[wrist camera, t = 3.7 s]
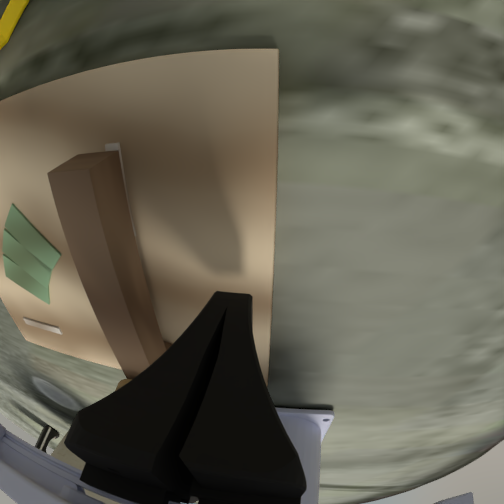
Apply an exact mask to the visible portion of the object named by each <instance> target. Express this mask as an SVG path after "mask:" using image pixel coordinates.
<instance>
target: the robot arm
mask: <svg viewBox="0 0 504 504" xmlns="http://www.w3.org/2000/svg"><path fill="white" fill-rule="evenodd" d="M333 419H334V412H333V411H331V410H309V409H290V408H276V407H275V406H274V404H273V402H272V399H271V397H270V394H269V392H268V389H267V386H266V383H265V380H264V377H263V374H262V371H261V367H260V364H259V360H258V356H257V352H256V347H255V342H254V336H253V297H252V296H251V295H250V294H245V293H233V292H222V291H216V292H215V293H214V294H213V295H212V297H211V298H210V300H209V301H208V302H207V304H206V305H205V306H204V308H203V309H202V310H201V312H200V313H199V314H198V316H197V317H196V318H195V319H194V320H193V322H192V323H191V324H190V325H189V327H188V328H187V329H186V330H185V331H184V332H183V334H182V335H181V336H180V337H179V338H178V339H177V340H176V341H175V342H174V343H173V344H172V345H171V346H170V347H169V348H168V349H167V350H166V351H165V352H164V353H163V354H162V355H161V356H160V357H159V358H158V359H157V360H156V361H155V362H153V363H152V364H151V365H150V366H149V367H148V368H146V369H145V370H144V371H143V372H141V373H140V374H139V375H138V376H136V377H135V378H134V379H132V380H131V381H130V382H128V383H127V384H125V385H124V386H122V387H121V388H119V389H118V390H116V391H114V392H113V393H111V394H110V395H108V396H107V397H105V398H103V399H101V400H99V401H98V402H96V403H94V404H92V405H90V406H88V407H86V408H84V409H82V410H80V411H79V412H78V414H77V415H76V417H75V419H74V420H73V423H72V425H71V427H70V429H69V432H68V434H67V436H66V439H65V441H64V444H65V446H66V447H67V448H68V449H69V450H70V451H71V452H72V453H74V454H75V455H76V456H78V457H79V458H80V459H82V460H83V461H84V462H86V463H85V466H84V469H83V471H82V470H80V469H77V468H75V467H73V466H71V465H69V464H67V463H65V462H63V461H60V460H58V459H56V458H54V457H53V456H51V455H48V454H47V453H45V452H43V451H41V450H39V449H38V448H36V447H34V446H32V445H30V444H29V443H27V442H25V441H24V440H22V439H20V438H19V437H17V436H15V435H13V434H12V433H11V432H9V431H7V430H6V429H5V427H3V426H2V425H1V424H0V489H1V490H2V491H3V492H4V493H6V494H7V495H8V496H9V497H10V498H11V499H13V500H14V501H15V502H17V503H18V504H106V503H104V502H102V501H99V500H97V499H95V498H92V497H90V496H88V495H86V494H85V490H84V489H86V490H88V491H91V492H93V493H95V494H98V495H100V496H103V497H105V498H108V499H110V500H113V501H115V502H118V503H121V504H180V502H183V503H187V504H188V503H194V502H196V501H198V500H199V502H198V504H318V497H319V480H320V458H321V442H322V440H323V438H324V436H325V434H326V432H327V430H328V428H329V427H330V425H331V423H332V421H333ZM83 488H84V489H83ZM434 504H474V502H473V493H472V492H469V493H466V494H463V495H459V496H456V497H452V498H448V499H445V500H442V501H439V502H436V503H434Z"/></svg>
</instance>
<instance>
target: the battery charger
mask: <svg viewBox="0 0 504 504" xmlns="http://www.w3.org/2000/svg"><path fill="white" fill-rule="evenodd" d="M58 437H59V433H58V432H56V431H55V430H53V429H52V428H51V427H49V426H45V427H44V428H43V430H42V432H41V434H40V436H39V438H38V441H37V443H36V445H35V447H36V448H38V449H39V450H41V451H43V452H45V453H46V447H47V445H48V443H49V441H50V440H51V439H54V438H58Z"/></svg>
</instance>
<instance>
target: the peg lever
mask: <svg viewBox="0 0 504 504" xmlns="http://www.w3.org/2000/svg"><path fill="white" fill-rule="evenodd" d="M47 175H48V179H49V183H50V187H51V191H52V195H53V198H54V202H55V205H56V209H57V212H58V216H59V219H60V222H61V226H62V229H63V232H64V235H65V238H66V241H67V244H68V247H69V250H70V253H71V256H72V258H73V261H74V264H75V267H76V269H77V272H78V274H79V277H80V280H81V282H82V285H83V287H84V290H85V292H86V294H87V297H88V299H89V302H90V304H91V306H92V309H93V311H94V313H95V315H96V318H97V320H98V322H99V324H100V326H101V328H102V331H103V333H104V335H105V337H106V339H107V341H108V343H109V345H110V347H111V349H112V351H113V353H114V355H115V357H116V359H117V361H118V363H119V365H120V366H121V368H122V370H123V372H124V374H125V376H126V378H127V379H124V380H121V381H120V382H119V383H118V386H117V388H116V390H118V389H119V388H121V387H122V386H124V385H125V384H127V383H128V382H130V381H131V380H132V379H134V378H135V377H136V376H138V375H139V374H140V373H141V372H143V371H144V370H145V369H146V368H148V367H149V366H150V365H151V364H152V363H153V362H155V361H156V360H157V359H158V358H159V357H160V356H161V355H162V354H163V353H164V352H165V351H166V350H167V349H168V348H169V347H170V346H171V345H172V344H171V343H169V342H166V341H163V338H162V335H161V332H160V329H159V325H158V322H157V319H156V315H155V312H154V309H153V305H152V302H151V298H150V295H149V291H148V287H147V284H146V280H145V276H144V272H143V268H142V264H141V260H140V256H139V252H138V248H137V244H136V240H135V235H134V231H133V226H132V221H131V217H130V212H129V207H128V202H127V197H126V192H125V186H124V181H123V175H122V169H121V163H120V157H119V150H116V151H105V152H94V153H85V154H78V155H76V156H74V157H73V158H71V159H69V160H68V161H66V162H64V163H63V164H61V165H59V166H58V167H56V168H55V169H53V170H51V171H50V172H48V173H47ZM116 390H115V391H116Z"/></svg>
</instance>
